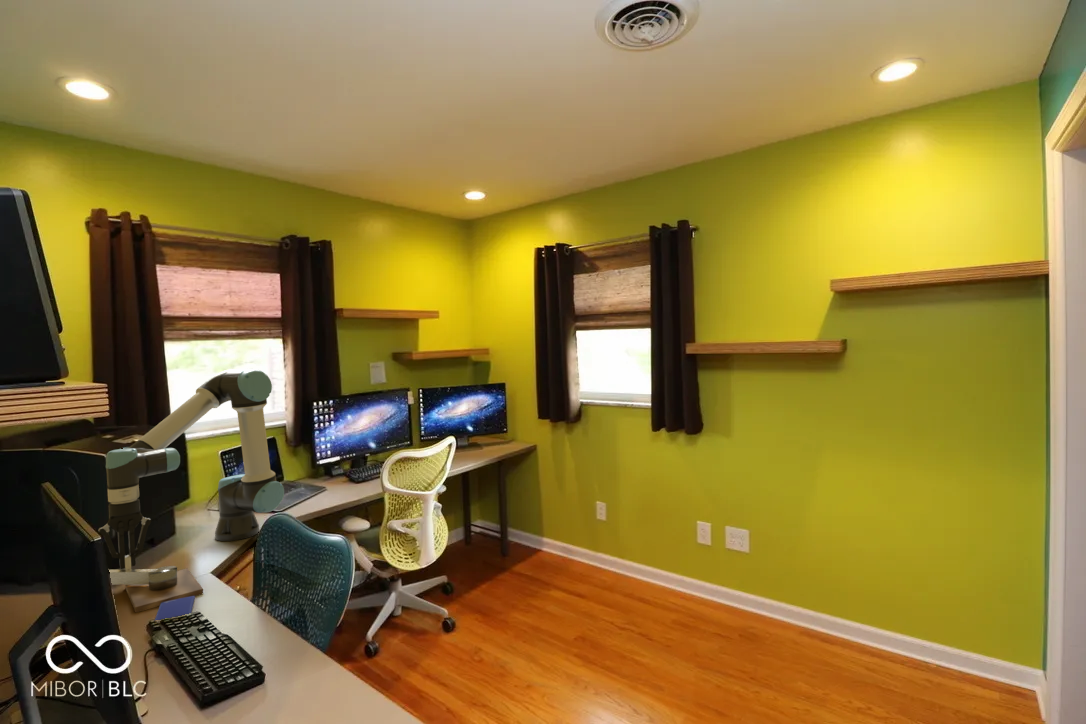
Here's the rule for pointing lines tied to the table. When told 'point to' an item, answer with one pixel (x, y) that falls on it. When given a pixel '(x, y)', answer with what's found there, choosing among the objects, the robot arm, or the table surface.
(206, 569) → the table surface
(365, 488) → the table surface
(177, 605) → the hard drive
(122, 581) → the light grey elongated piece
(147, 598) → the base plate
